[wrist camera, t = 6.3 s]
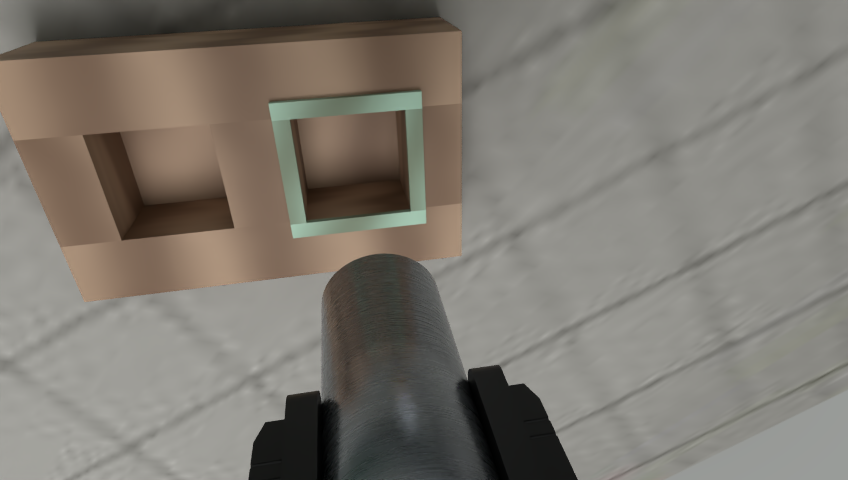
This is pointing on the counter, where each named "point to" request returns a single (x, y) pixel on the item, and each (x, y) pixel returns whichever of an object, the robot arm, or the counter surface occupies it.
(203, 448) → the counter surface
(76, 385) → the counter surface
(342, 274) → the pin
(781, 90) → the counter surface
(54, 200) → the bore block
